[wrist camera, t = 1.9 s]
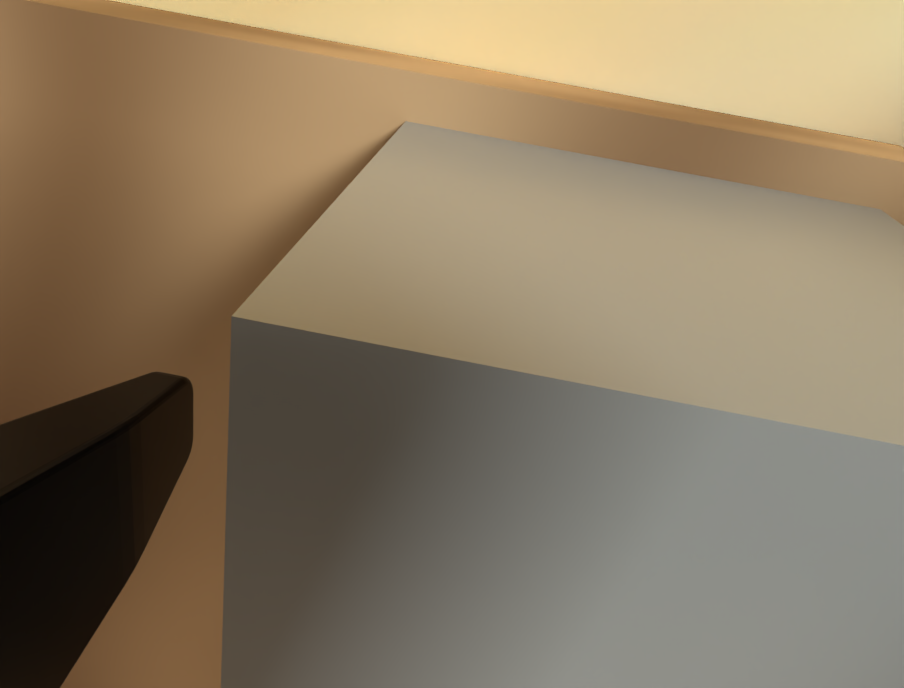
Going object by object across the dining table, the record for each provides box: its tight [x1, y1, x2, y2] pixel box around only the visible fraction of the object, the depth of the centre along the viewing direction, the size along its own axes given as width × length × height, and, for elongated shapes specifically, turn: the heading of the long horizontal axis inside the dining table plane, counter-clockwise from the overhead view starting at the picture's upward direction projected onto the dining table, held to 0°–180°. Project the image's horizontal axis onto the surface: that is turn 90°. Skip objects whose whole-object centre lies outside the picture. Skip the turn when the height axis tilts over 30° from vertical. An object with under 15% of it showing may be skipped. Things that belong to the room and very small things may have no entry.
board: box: [0, 0, 904, 688], centre depth 13 cm, size 20×22×1 cm
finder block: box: [221, 121, 904, 688], centre depth 7 cm, size 5×7×5 cm
